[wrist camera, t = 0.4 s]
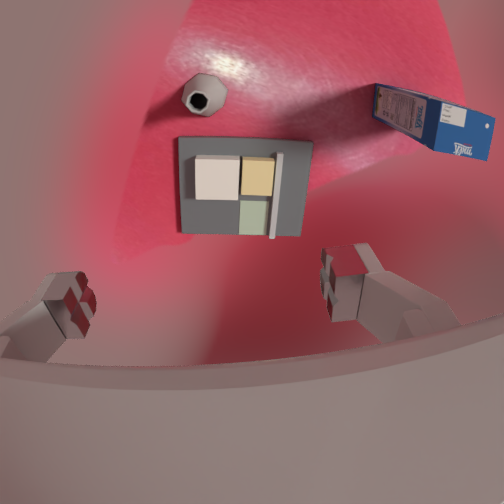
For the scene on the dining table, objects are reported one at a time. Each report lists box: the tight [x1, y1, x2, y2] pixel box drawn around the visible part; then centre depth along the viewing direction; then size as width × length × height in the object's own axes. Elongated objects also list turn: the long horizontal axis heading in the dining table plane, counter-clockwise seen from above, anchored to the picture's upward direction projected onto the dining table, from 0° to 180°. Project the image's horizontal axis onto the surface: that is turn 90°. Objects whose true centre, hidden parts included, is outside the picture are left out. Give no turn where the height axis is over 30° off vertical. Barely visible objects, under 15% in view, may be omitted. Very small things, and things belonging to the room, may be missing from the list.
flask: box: [181, 73, 228, 117], centre depth 42 cm, size 7×7×10 cm
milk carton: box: [372, 83, 495, 161], centre depth 39 cm, size 10×6×20 cm, turn 89°
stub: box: [241, 157, 275, 196], centre depth 52 cm, size 6×5×2 cm
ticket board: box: [178, 136, 313, 239], centre depth 54 cm, size 18×22×4 cm
